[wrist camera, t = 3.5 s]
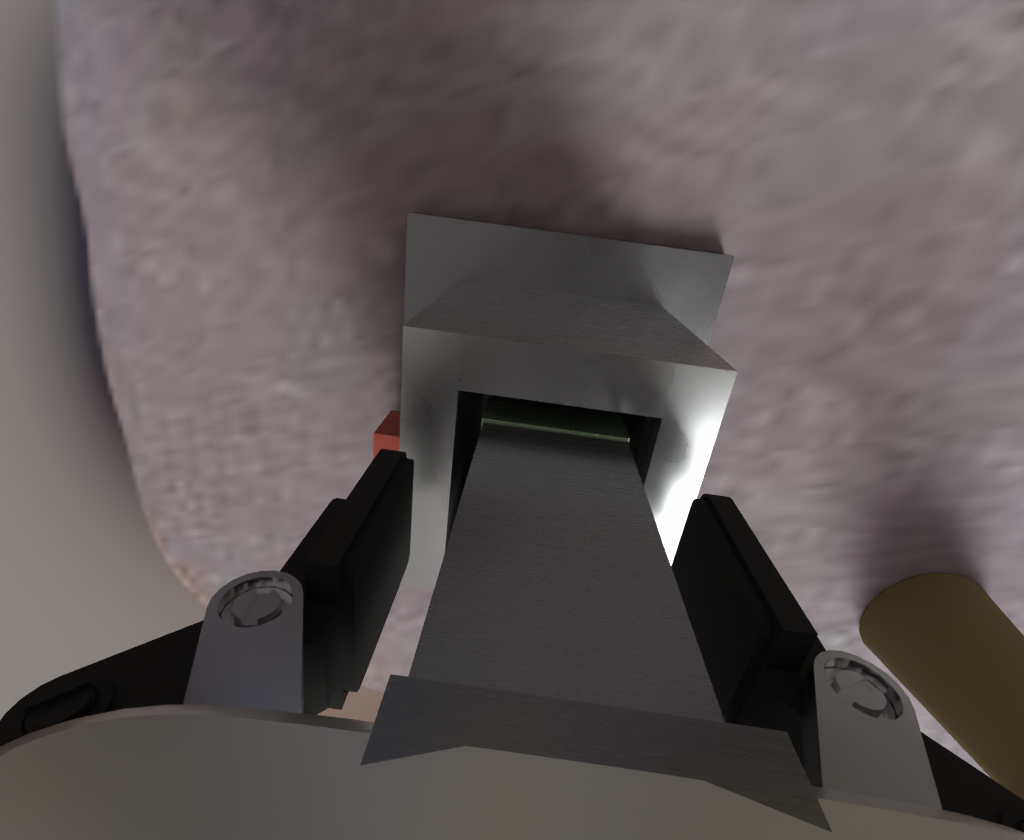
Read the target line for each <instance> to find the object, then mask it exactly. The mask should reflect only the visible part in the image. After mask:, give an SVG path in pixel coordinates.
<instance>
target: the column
mask: <svg viewBox="0 0 1024 840" xmlns="http://www.w3.org/2000/svg"><path fill="white" fill-rule="evenodd" d="M629 440H630V438H629V435H628V432H627V429H626V427H625V424H624V421H623V418H622V415H619V414H618V412H612V411H605V410H598V409H590V408H583V407H576V406H569V405H561V404H554V403H547V402H540V401H532V400H525V399H518V398H511V397H503V396H496V395H491V397H488V400H487V404H486V407H485V410H484V413H483V417H482V423H481V432H480V435H479V438H478V442H477V445H476V449H475V452H474V455H473V459H472V462H471V466H470V469H469V472H468V476H467V479H466V483H465V486H464V489H463V493H462V496H461V500H460V503H459V507H458V510H457V513H456V517H455V520H454V524H453V527H452V530H451V534H450V537H449V541H448V544H447V547H446V551H445V554H444V558H443V561H442V564H441V568H440V571H439V575H438V578H437V581H436V585H435V588H434V592H433V595H432V598H431V602H430V605H429V609H428V612H427V615H426V619H425V622H424V626H423V629H422V632H421V636H420V639H419V643H418V646H417V649H416V653H415V656H414V660H413V663H412V666H411V670H410V673H409V677H406V676H399V675H392V674H391V675H390V678H389V681H388V684H387V687H386V690H385V692H384V696H383V699H382V701H381V705H380V708H379V711H378V714H377V717H376V720H375V722H374V725H373V728H372V731H371V734H370V737H369V740H368V743H367V746H366V749H365V752H364V755H363V758H362V761H361V764H360V765H366V764H371V763H377V762H382V761H387V760H393V759H398V758H403V757H409V756H414V755H420V754H425V753H430V752H436V751H441V750H447V749H452V748H457V747H463V746H470V747H478V748H485V749H493V750H500V751H507V752H514V753H521V754H528V755H535V756H542V757H549V758H556V759H563V760H570V761H577V762H584V763H591V764H598V765H605V766H611V767H618V768H625V769H632V770H639V771H645V772H652V773H659V774H665V775H672V776H678V777H684V778H691V779H697V780H703V781H706V782H708V783H711V784H713V785H716V786H718V787H721V788H723V789H725V790H728V791H730V792H733V793H735V794H738V795H740V796H743V797H745V798H748V799H750V800H753V801H755V802H758V803H760V804H763V805H765V806H768V807H770V808H772V809H775V810H777V811H780V812H782V813H785V814H787V815H790V816H792V817H795V818H797V819H800V820H802V821H805V822H807V823H810V824H812V825H815V826H817V827H819V828H822V829H824V830H827V831H829V832H832V830H831V828H830V825H829V823H828V821H827V819H826V817H825V814H824V812H823V810H822V808H821V806H820V804H819V801H818V799H817V797H816V795H815V793H814V790H813V788H812V786H811V784H810V782H809V779H808V777H807V775H806V773H805V771H804V769H803V766H802V764H801V762H800V760H799V758H798V755H797V753H796V751H795V749H794V747H793V744H792V742H791V740H790V738H789V736H788V734H787V731H780V730H773V729H766V728H759V727H752V726H745V725H738V724H731V723H725V721H724V718H723V715H722V712H721V709H720V707H719V704H718V701H717V698H716V695H715V692H714V689H713V686H712V683H711V681H710V678H709V675H708V672H707V669H706V666H705V663H704V660H703V657H702V654H701V652H700V649H699V646H698V643H697V640H696V637H695V634H694V631H693V628H692V626H691V623H690V620H689V617H688V614H687V611H686V608H685V605H684V602H683V600H682V597H681V594H680V591H679V588H678V585H677V582H676V579H675V576H674V574H673V571H672V568H671V565H670V562H669V559H668V556H667V553H666V550H665V547H664V545H663V542H662V539H661V536H660V533H659V530H658V527H657V524H656V521H655V519H654V516H653V513H652V510H651V507H650V504H649V501H648V498H647V495H646V493H645V490H644V487H643V484H642V481H641V478H640V475H639V472H638V469H637V466H636V464H635V461H634V458H633V455H632V452H631V449H630V446H629ZM832 833H833V832H832Z"/></svg>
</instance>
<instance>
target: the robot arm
mask: <svg viewBox="0 0 1024 840" xmlns="http://www.w3.org/2000/svg"><path fill="white" fill-rule="evenodd" d="M413 477H414V460H413V459H409V458H407V456H406V452H402V451H395V450H388V449H381V450H380V451H379V452H378V454H377V455H376V457H375V458H374V460H373V461H372V462H371V464H370V465H369V467H368V468H367V470H366V471H365V473H364V474H363V476H362V477H361V479H360V480H359V481H358V483H357V484H356V486H355V487H354V489H353V490H352V492H351V493H350V495H349V496H348V498H347V499H340V498H336V499H333V500H332V501H331V502H330V503H329V505H328V506H327V508H326V509H325V510H324V512H323V513H322V514H321V516H320V517H319V518H318V520H317V521H316V523H315V524H314V525H313V527H312V528H311V529H310V531H309V532H308V534H307V535H306V536H305V538H304V539H303V540H302V542H301V543H300V544H299V546H298V547H297V549H296V550H295V551H294V553H293V554H292V555H291V557H290V558H289V559H288V561H287V562H286V564H285V565H284V566H283V568H282V569H281V570H280V572H279V571H259V572H254V573H250V574H246V575H243V576H241V577H239V578H236V579H234V580H232V581H230V582H229V583H227V584H226V585H224V586H223V587H221V588H220V589H219V590H218V591H217V592H216V594H215V595H214V596H213V597H212V598H211V600H210V602H209V604H208V606H207V609H206V614H205V617H204V620H203V621H201V622H198V623H196V624H193V625H190V626H188V627H185V628H183V629H180V630H178V631H175V632H173V633H170V634H167V635H165V636H162V637H160V638H157V639H155V640H152V641H149V642H147V643H145V644H142V645H139V646H137V647H134V648H132V649H129V650H126V651H124V652H121V653H119V654H116V655H114V656H111V657H108V658H106V659H103V660H101V661H98V662H96V663H93V664H91V665H88V666H86V667H83V668H80V669H78V670H75V671H73V672H70V673H68V674H65V675H62V676H60V677H58V678H56V679H54V680H52V681H50V682H47V683H45V684H43V685H41V686H40V687H38V688H37V689H35V690H34V691H32V692H31V693H29V694H28V695H26V696H25V697H23V698H22V699H21V700H19V701H18V702H17V703H16V704H15V705H14V706H13V707H12V708H11V709H10V710H9V711H8V712H7V713H6V714H5V715H4V716H3V718H2V719H1V721H0V840H1024V800H1023V799H1021V798H1020V797H1018V796H1017V795H1015V794H1014V793H1012V792H1011V791H1009V790H1008V789H1006V788H1005V787H1003V786H1002V785H1000V784H999V783H997V782H996V781H994V780H993V779H991V778H990V777H988V776H987V775H985V774H984V773H982V772H981V771H979V770H978V769H976V768H975V767H973V766H972V765H970V764H968V763H967V762H965V761H964V760H962V759H961V758H959V757H958V756H956V755H955V754H953V753H952V752H950V751H949V750H947V749H946V748H944V747H943V746H941V745H940V744H938V743H937V742H935V741H934V740H932V739H931V738H929V737H928V736H926V735H925V734H923V733H922V732H921V731H920V728H919V724H918V721H917V717H916V714H915V710H914V708H913V706H912V703H911V701H910V699H909V697H908V696H907V695H906V693H905V692H904V691H903V690H902V688H901V687H900V686H899V685H898V684H897V683H896V682H895V681H894V680H893V679H892V678H891V677H890V676H889V675H887V674H886V673H885V672H884V671H882V670H881V669H879V668H878V667H876V666H875V665H873V664H872V663H870V662H868V661H866V660H864V659H862V658H860V657H858V656H856V655H852V654H849V653H846V652H843V651H834V650H829V651H826V650H825V648H824V647H823V645H822V644H821V642H820V640H819V639H818V637H817V635H818V634H817V632H816V631H815V629H814V628H813V626H812V625H811V623H810V621H809V620H808V618H807V617H806V615H805V614H804V612H803V610H802V609H801V607H800V606H799V604H798V602H797V601H796V599H795V598H794V596H793V595H792V593H791V591H790V590H789V588H788V587H787V585H786V584H785V582H784V580H783V579H782V577H781V576H780V574H779V573H778V571H777V569H776V568H775V566H774V565H773V563H772V561H771V560H770V558H769V557H768V555H767V554H766V552H765V550H764V549H763V547H762V546H761V544H760V543H759V541H758V539H757V538H756V536H755V535H754V533H753V532H752V530H751V528H750V527H749V525H748V524H747V522H746V521H745V519H744V517H743V516H742V514H741V513H740V511H739V509H738V508H737V506H736V505H735V503H734V502H733V500H732V499H731V498H730V497H725V496H718V495H711V494H703V495H702V496H701V498H700V499H694V500H693V501H692V504H691V506H690V509H689V513H688V516H687V519H686V522H685V525H684V528H683V531H682V534H681V537H680V540H679V543H678V547H677V550H676V553H675V556H674V559H673V562H672V565H671V568H672V571H673V574H674V576H675V579H676V582H677V585H678V588H679V591H680V594H681V597H682V600H683V602H684V605H685V608H686V611H687V614H688V617H689V620H690V623H691V626H692V628H693V631H694V634H695V637H696V640H697V643H698V646H699V649H700V652H701V654H702V657H703V660H704V663H705V666H706V669H707V672H708V675H709V678H710V681H711V683H712V686H713V689H714V692H715V695H716V698H717V701H718V704H719V707H720V709H721V712H722V715H723V718H724V721H725V723H731V724H738V725H745V726H752V727H759V728H766V729H773V730H780V731H787V734H788V736H789V738H790V740H791V742H792V744H793V747H794V749H795V751H796V753H797V755H798V758H799V760H800V762H801V764H802V766H803V769H804V771H805V773H806V775H807V777H808V779H809V782H810V784H811V786H812V788H813V790H814V793H815V795H816V797H817V799H818V801H819V804H820V806H821V808H822V810H823V812H824V814H825V817H826V819H827V821H828V823H829V825H830V828H831V830H832V832H833V833H832V832H829V831H827V830H824V829H822V828H819V827H817V826H815V825H812V824H810V823H807V822H805V821H802V820H800V819H797V818H795V817H792V816H790V815H787V814H785V813H782V812H780V811H777V810H775V809H772V808H770V807H768V806H765V805H763V804H760V803H758V802H755V801H753V800H750V799H748V798H745V797H743V796H740V795H738V794H735V793H733V792H730V791H728V790H725V789H723V788H721V787H718V786H716V785H713V784H711V783H708V782H706V781H703V780H697V779H691V778H684V777H678V776H672V775H665V774H659V773H652V772H645V771H639V770H632V769H625V768H618V767H611V766H605V765H598V764H591V763H584V762H577V761H570V760H563V759H556V758H549V757H542V756H535V755H528V754H521V753H514V752H507V751H500V750H493V749H485V748H478V747H470V746H463V747H457V748H452V749H447V750H441V751H436V752H430V753H425V754H420V755H414V756H409V757H403V758H398V759H393V760H387V761H382V762H377V763H371V764H366V765H360V764H361V761H362V758H363V755H364V752H365V749H366V746H367V743H368V740H369V737H370V734H371V731H372V728H373V725H374V722H367V721H360V720H353V719H345V718H336V717H328V716H320V715H317V714H319V713H321V712H322V711H324V710H326V709H327V708H333V709H340V710H341V709H342V707H343V704H344V702H345V700H346V697H347V695H348V692H349V691H351V692H357V691H358V690H359V688H360V686H361V684H362V681H363V678H364V676H365V673H366V671H367V668H368V666H369V663H370V660H371V658H372V655H373V653H374V650H375V648H376V645H377V642H378V640H379V637H380V635H381V632H382V629H383V627H384V624H385V622H386V619H387V617H388V614H389V611H390V609H391V606H392V604H393V601H394V599H395V596H396V593H397V591H398V588H399V586H400V583H401V581H402V578H403V575H404V573H405V570H406V568H407V565H408V561H409V556H410V543H411V521H412V499H413Z"/></svg>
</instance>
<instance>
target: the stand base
mask: <svg viewBox="0 0 1024 840" xmlns="http://www.w3.org/2000/svg"><path fill="white" fill-rule="evenodd" d="M733 259H734V256H731V255H727V254H722V253H714V252H707V251H699V250H692V249H685V248H677V247H670V246H662V245H655V244H647V243H640V242H632V241H625V240H617V239H610V238H603V237H595V236H588V235H580V234H573V233H565V232H558V231H550V230H543V229H536V228H528V227H521V226H513V225H506V224H498V223H491V222H483V221H476V220H469V219H461V218H454V217H446V216H439V215H431V214H424V213H416V212H407V230H406V262H405V294H404V325H403V345H402V377H401V410H400V411H393V410H391V411H390V413H389V414H388V415H387V417H386V418H385V419H384V421H383V422H382V423H381V425H380V426H379V427H378V429H377V430H376V431H375V432H374V458H375V457H376V455H377V454H378V452H379V451H380V450H381V449H388V450H395V451H402V452H406V456H407V458H409V459H413V460H414V477H413V499H412V521H411V543H410V556H409V561H408V565H407V568H406V570H405V573H404V575H403V578H402V581H401V583H400V585H403V586H410V587H417V588H424V589H431V590H434V588H435V585H436V581H437V578H438V575H439V571H440V568H441V564H442V561H443V558H444V554H445V551H446V547H447V544H448V541H449V537H450V534H451V530H452V527H453V524H454V520H455V517H456V513H457V510H458V507H459V503H460V500H461V496H462V493H463V489H464V486H465V483H466V479H467V476H468V472H469V469H470V466H471V462H472V459H473V455H474V452H475V449H476V445H477V442H478V438H479V435H480V432H481V423H482V417H483V413H484V410H485V407H486V404H487V400H488V397H491V395H496V396H503V397H511V398H518V399H525V400H532V401H540V402H547V403H554V404H561V405H569V406H576V407H583V408H590V409H598V410H605V411H612V412H618V414H619V415H622V418H623V421H624V424H625V427H626V429H627V432H628V435H629V438H630V440H629V446H630V449H631V452H632V455H633V458H634V461H635V464H636V466H637V469H638V472H639V475H640V478H641V481H642V484H643V487H644V490H645V493H646V495H647V498H648V501H649V504H650V507H651V510H652V513H653V516H654V519H655V521H656V524H657V527H658V530H659V533H660V536H661V539H662V542H663V545H664V547H665V550H666V553H667V556H668V559H669V562H670V565H672V562H673V559H674V556H675V553H676V550H677V547H678V543H679V540H680V537H681V534H682V531H683V528H684V525H685V522H686V519H687V516H688V513H689V509H690V506H691V504H692V501H693V500H694V499H696V498H697V495H698V492H699V489H700V486H701V483H702V479H703V476H704V473H705V470H706V467H707V464H708V461H709V458H710V455H711V452H712V449H713V446H714V443H715V440H716V437H717V434H718V430H719V427H720V424H721V421H722V418H723V415H724V412H725V409H726V406H727V403H728V400H729V397H730V394H731V391H732V388H733V385H734V381H735V378H736V375H737V372H738V371H736V370H735V369H734V368H733V367H732V366H731V365H729V364H728V363H727V362H726V361H725V360H724V359H723V358H721V357H720V356H719V355H718V354H717V353H716V352H714V351H713V350H712V349H711V348H710V347H709V346H708V344H709V340H710V337H711V334H712V330H713V327H714V323H715V320H716V316H717V313H718V310H719V306H720V303H721V299H722V296H723V293H724V289H725V286H726V282H727V279H728V276H729V272H730V269H731V265H732V262H733Z"/></svg>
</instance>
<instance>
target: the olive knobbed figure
mask: <svg viewBox="0 0 1024 840" xmlns="http://www.w3.org/2000/svg"><path fill="white" fill-rule="evenodd" d="M859 631H860V634H861V637H862V640H863V643H864V644H865V645H866V646H867V647H868V648H869V649H870V650H871V651H872V652H873V653H874V654H875V655H876V656H877V658H878V659H879V660H880V661H881V662H882V663H883V664H884V665H885V666H886V667H887V668H888V669H889V670H890V671H891V672H892V673H893V674H894V676H895V677H896V678H897V679H898V680H899V681H900V682H901V683H902V684H903V685H904V686H905V687H906V688H907V689H908V690H909V691H910V692H911V694H912V695H913V696H914V697H915V698H916V699H917V700H918V701H919V702H920V703H921V704H922V705H923V706H924V707H925V708H926V709H927V710H928V712H929V713H930V714H931V715H932V716H933V717H934V718H935V719H936V720H937V721H938V722H939V723H940V724H941V725H942V726H943V727H944V728H945V730H946V731H947V732H948V733H949V734H950V735H951V736H952V737H953V738H954V739H955V740H956V741H957V742H958V743H959V744H960V745H961V747H962V748H963V749H964V750H965V751H966V752H967V753H968V754H969V755H970V756H971V757H972V758H973V759H974V760H975V761H976V762H977V763H978V765H979V766H980V767H981V768H982V769H983V770H984V771H985V772H986V773H987V774H988V775H989V776H990V777H991V778H992V779H993V780H994V781H996V782H997V783H999V784H1000V785H1002V786H1003V787H1005V788H1006V789H1008V790H1009V791H1011V792H1012V793H1014V794H1015V795H1017V796H1018V797H1020V798H1021V799H1023V800H1024V636H1023V635H1022V633H1021V632H1020V631H1019V630H1018V629H1017V628H1016V627H1015V625H1014V624H1013V623H1012V622H1011V621H1010V620H1009V619H1008V617H1007V616H1006V615H1005V614H1004V613H1003V612H1002V611H1001V610H1000V608H999V607H998V606H997V605H996V604H995V603H994V602H993V600H992V599H991V598H990V597H989V596H988V595H987V594H986V592H985V591H984V590H983V589H982V588H981V587H980V586H979V584H978V583H976V582H974V581H972V580H970V579H968V578H966V577H964V576H960V575H954V574H948V573H935V574H922V575H919V576H916V577H912V578H909V579H906V580H902V581H900V582H898V583H897V584H895V585H893V586H891V587H889V588H887V589H886V590H884V591H883V592H881V593H880V594H879V595H878V596H877V597H876V598H875V599H874V600H873V601H872V602H870V603H869V605H868V607H867V609H866V610H865V612H864V614H863V615H862V617H861V624H860V630H859Z"/></svg>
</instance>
